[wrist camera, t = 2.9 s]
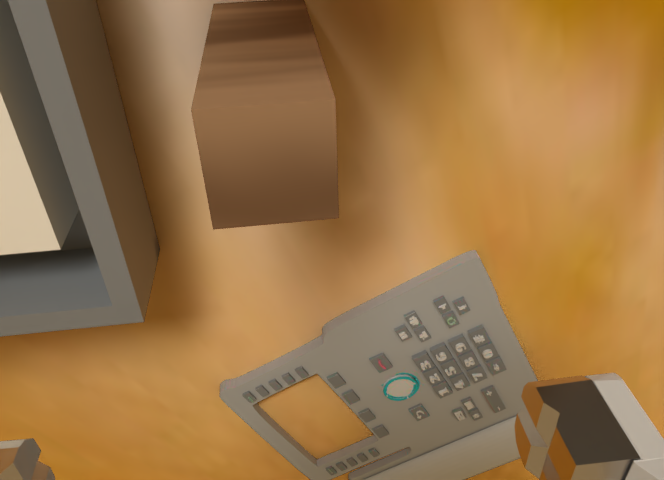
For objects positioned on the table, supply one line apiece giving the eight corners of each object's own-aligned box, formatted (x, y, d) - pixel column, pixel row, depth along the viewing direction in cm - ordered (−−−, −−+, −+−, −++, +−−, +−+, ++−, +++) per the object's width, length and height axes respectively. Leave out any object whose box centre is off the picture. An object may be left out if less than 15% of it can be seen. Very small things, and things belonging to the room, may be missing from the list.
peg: (213, 3, 25) (191, 109, 16) (303, -2, 26) (335, 99, 16) (226, 90, 28) (213, 229, 18) (308, 84, 28) (338, 218, 18)
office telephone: (577, 453, 47) (361, 538, 51) (563, 426, 49) (356, 510, 53) (486, 269, 34) (203, 403, 37) (472, 243, 36) (206, 372, 40)
